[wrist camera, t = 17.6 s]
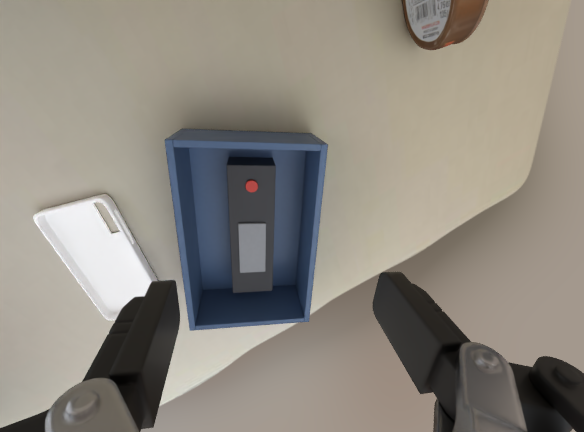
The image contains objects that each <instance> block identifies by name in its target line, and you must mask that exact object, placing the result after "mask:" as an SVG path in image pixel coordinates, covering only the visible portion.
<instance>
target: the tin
mask: <svg viewBox="0 0 584 432" xmlns="http://www.w3.org/2000/svg"><path fill="white" fill-rule="evenodd" d="M488 1H489V0H403V8H404V15H405V20H406V24H407V27H408V30H409V32H410V35H411V37H412V38H413V40H414V41H415V43H416V44H417V45H418V46H419V47H421V48H423V49H427V50H436V49H440V48H443V47H445V46H448V45H451V44H457V43H460V42H462V41H464V40H466V39H467V38H468V37H469V36H470V35H471V34H472V33H473V32H474V31H475V29H476V28H477V26H478V25H479V23H480V21H481V19H482V17H483V15H484V12H485V10H486V7H487V4H488Z"/></svg>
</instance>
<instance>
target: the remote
mask: <svg viewBox="0 0 584 432" xmlns="http://www.w3.org/2000/svg"><path fill="white" fill-rule="evenodd" d="M275 179H276V165H275V163H274V160H273V158H261V157H229V158H228V162H227V184H228V205H229V225H230V246H231V267H232V287H233V293H242V292H258V291H272V290H273V254H274V216H275Z"/></svg>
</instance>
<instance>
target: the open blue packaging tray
mask: <svg viewBox="0 0 584 432" xmlns="http://www.w3.org/2000/svg"><path fill="white" fill-rule="evenodd" d="M165 146H166V154H167V161H168V169H169V176H170V184H171V192H172V199H173V207H174V214H175V222H176V229H177V237H178V244H179V252H180V260H181V267H182V275H183V282H184V290H185V297H186V305H187V312H188V320H189V328H190V331H191V330H204V329H217V328H230V327H243V326H257V325H270V324H283V323H296V322H309V317H310V307H311V298H312V289H313V279H314V270H315V261H316V251H317V242H318V233H319V223H320V214H321V204H322V195H323V186H324V176H325V167H326V158H327V148H328V144H326V143H325V142H323V141H322V140H320V139H319V138H318V137H316V136H315V135H313V134H312V133H287V132H259V131H232V130H204V129H181V130H179V131H178V132H176V133H175V134H173V135H171V136H170V137H168V138H167V139H165ZM229 157H261V158H273V160H274V163H275V165H276V179H275V216H274V254H273V290H272V291H258V292H242V293H233V287H232V267H231V246H230V225H229V205H228V184H227V162H228V158H229Z"/></svg>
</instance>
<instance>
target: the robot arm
mask: <svg viewBox="0 0 584 432" xmlns="http://www.w3.org/2000/svg"><path fill="white" fill-rule="evenodd" d="M373 311H374V314H375V317H376V319H377V320H378V322H379V324H380V325H381V327H382V329H383V331H384V333H385V334H386V336H387V337H388V339H389V341H390V343H391V344H392V346H393V348H394V350H395V351H396V353H397V355H398V357H399V358H400V360H401V361H402V363H403V365H404V367H405V368H406V370H407V372H408V374H409V375H410V377H411V379H412V381H413V382H414V384H415V386H416V387H417V389H418V391H419V393H420V394H424V393H431V392H434V394H435V395H436V397H437V400H436V402H435V408H434V431H433V432H570V431H571V430H572V429H574V430H575V431H576V432H584V373H582V372H581V371H580V370H578V369H577V368H575V367H574V366H572V365H570V364H568V363H566V362H564V361H562V360H559V359H557V358H553V357H547V356H543V357H540V358H538V359H537V361H536V362H535V364H534V366H533V367H529V366H523V365H518V364H513V363H508V362H507V361H506V360H505V359H504V358H503V357H502V356H501V355H500V354H499V353H497V352H496V351H495V350H493V349H491V348H489V347H487V346H485V345H483V344H480V343H475V342H471V341H470V340H469V339H468V338H467V337H466V336H465V335H464V334H463V332H462V331H461V330H460V329H459V328H458V327H457V326H456V325H455V324H454V322H453V321H452V320H451V319H450V318H449V317H448V316H447V315H446V314H445V312H442V309H441V308H440V307H439V306H438V305H437V304H436V303H435V302H434V300H433V299H432V298H431V297H430V296H429V295H428V294H427V293H426V291H424V290H423V289H421V288H420V287H418V286H417V285H415V284H411V282H410V281H409V280H408V279H407V278H406V277H405V275H404V274H403V273H401V272H383V273H381V274H380V276H379V279H378V284H377V288H376V292H375V295H374V300H373ZM179 323H180V311H179V303H178V295H177V286H176V282H175V280H170V281H152V282H151V284H150V286H149V288H148V290H147V292H146V294H145V296H140V297H134V298H133V299H132V300H130V301H129V302H128V303H127V304H126V305H125V306H124V307H123V308H122V309H121V311H120V313H119V315H118V317H117V318H116V320H115V323H114V324H113V326H112V328H111V330H110V331H109V335H107V337H106V339H105V341H104V343H103V344H102V346H101V348H100V350H99V352H98V354H97V356H96V357H95V359H94V361H93V363H92V365H91V367H90V369H89V370H88V372H87V374H86V376H85V378H84V379H83V381H82V382H81V383H79V384H77V385H75V386H74V387H72V388H71V389H69V390H68V391H66V392H65V393H64V394H63V395H62V396H61V397H59V399H58V400H57V401H56V402H55V403H54V404H53V406H52V407H51V408H50V409H49V410H47V411H45V412H42V413H40V414H38V415H35V416H32V417H29V418H27V419H24V420H21V421H19V422H16V423H13V424H11V425H8V426H5V427H3V428H0V432H140V431H141V429H145V428H153V427H154V423H155V419H156V415H157V411H158V408H159V404H160V400H161V396H162V392H163V388H164V384H165V380H166V377H167V373H168V369H169V365H170V361H171V357H172V353H173V349H174V346H175V342H176V338H177V334H178V330H179Z"/></svg>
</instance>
